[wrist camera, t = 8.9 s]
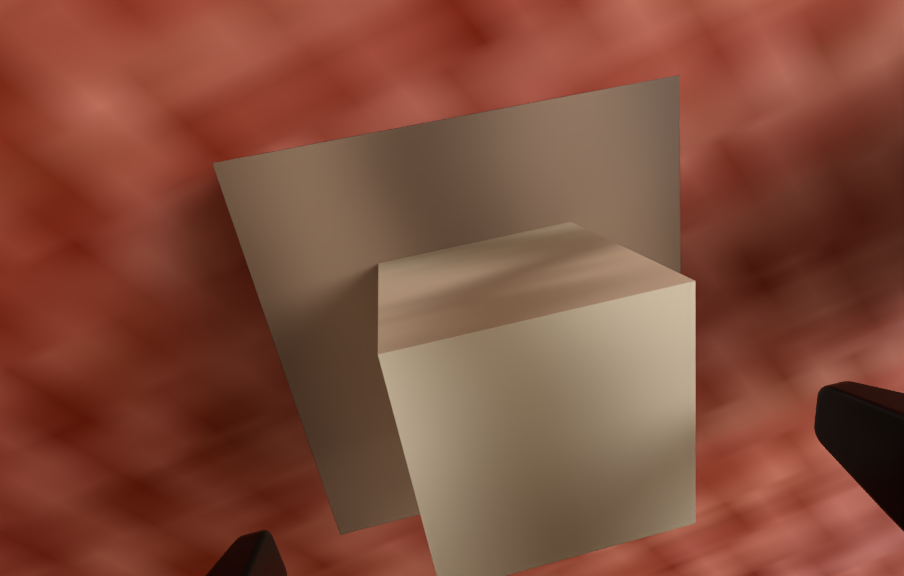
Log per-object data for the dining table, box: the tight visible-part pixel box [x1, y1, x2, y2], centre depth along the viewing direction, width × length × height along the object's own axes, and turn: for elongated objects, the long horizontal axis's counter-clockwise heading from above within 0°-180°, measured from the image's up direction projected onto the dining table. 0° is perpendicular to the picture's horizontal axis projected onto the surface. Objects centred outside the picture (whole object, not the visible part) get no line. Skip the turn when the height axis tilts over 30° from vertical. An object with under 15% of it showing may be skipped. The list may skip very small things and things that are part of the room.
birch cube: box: [378, 222, 696, 576], centre depth 10 cm, size 5×5×5 cm
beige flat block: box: [212, 75, 681, 535], centre depth 14 cm, size 11×11×4 cm
